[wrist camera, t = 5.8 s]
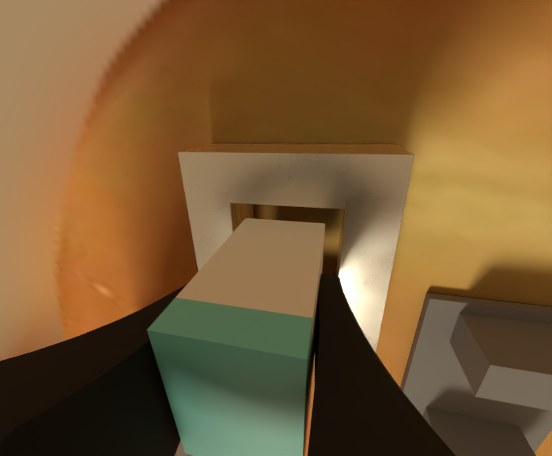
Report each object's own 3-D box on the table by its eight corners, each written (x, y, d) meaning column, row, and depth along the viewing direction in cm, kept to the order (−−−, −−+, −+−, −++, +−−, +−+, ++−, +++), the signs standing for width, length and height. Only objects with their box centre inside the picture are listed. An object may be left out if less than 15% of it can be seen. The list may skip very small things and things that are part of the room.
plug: (252, 304, 12) (184, 452, 7) (245, 218, 10) (146, 330, 5) (319, 314, 12) (301, 486, 6) (325, 223, 10) (307, 359, 4)
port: (230, 300, 17) (209, 336, 14) (211, 143, 13) (177, 151, 10) (367, 320, 15) (372, 365, 12) (396, 144, 11) (414, 154, 8)
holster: (391, 418, 18) (402, 482, 15) (427, 292, 13) (452, 347, 10) (526, 447, 16) (570, 526, 13) (617, 314, 12) (717, 387, 9)
